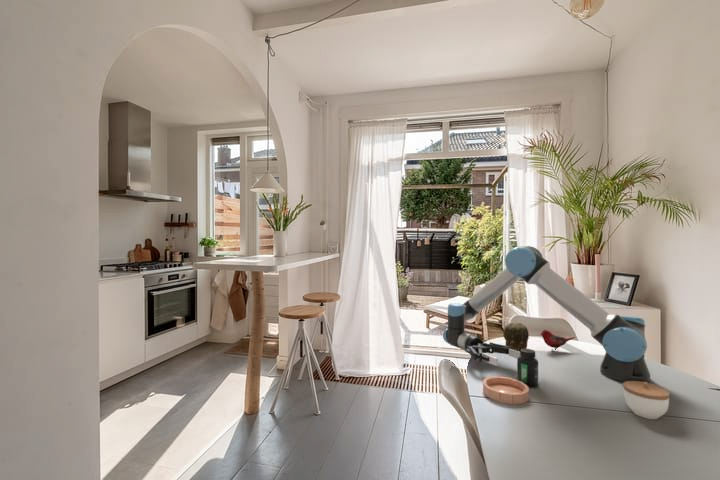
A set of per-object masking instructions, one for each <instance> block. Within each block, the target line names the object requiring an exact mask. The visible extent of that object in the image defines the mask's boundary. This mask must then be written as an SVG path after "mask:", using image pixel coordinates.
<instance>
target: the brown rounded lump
mask: <svg viewBox="0 0 720 480" xmlns="http://www.w3.org/2000/svg"><path fill="white" fill-rule="evenodd" d="M502 335H503V339H504V340H505V346H511V347H513V350H516V351H520V350H521V349H528V343H529V342H528V340H529V339H530V335H529V330H528V328H527V326H526V325H524V324H523V323H522V322H515V323H514V322H511V323H507V324H506V325H505V326H504V329H503V333H502Z"/></svg>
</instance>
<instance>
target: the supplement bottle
mask: <svg viewBox="0 0 720 480" xmlns="http://www.w3.org/2000/svg"><path fill="white" fill-rule="evenodd" d="M520 355H521V356H520V357H518V359H517V358H516V360H517V361H516V366H517V367H516V369H517V370H516V372H517V373H516V375H517V376H516V380H518V381H521V382H523V383H524V384H526V385H527V386H528V388H532V389H533V388H537V387H538V386H539V361H538V359H537V358H536V351H535V350H534V349H530V348H527V349H521V350H520Z"/></svg>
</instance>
